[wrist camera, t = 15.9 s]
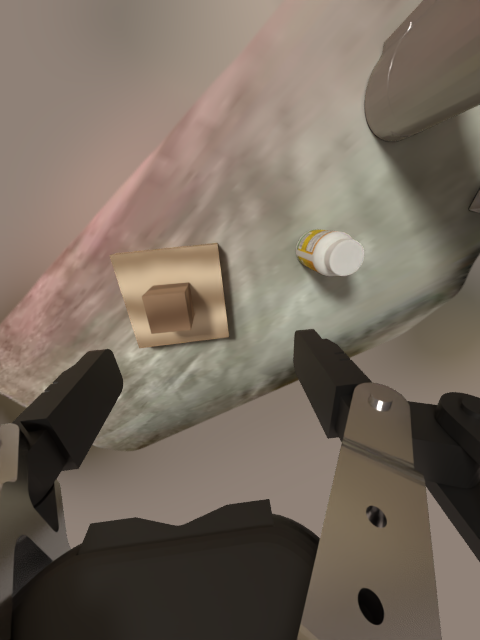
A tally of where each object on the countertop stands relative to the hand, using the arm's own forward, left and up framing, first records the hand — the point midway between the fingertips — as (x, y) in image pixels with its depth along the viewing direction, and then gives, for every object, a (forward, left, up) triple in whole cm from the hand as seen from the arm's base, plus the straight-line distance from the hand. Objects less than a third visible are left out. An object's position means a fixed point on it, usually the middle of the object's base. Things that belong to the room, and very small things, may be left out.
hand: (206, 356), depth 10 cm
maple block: (+4, -6, -25) cm, 26 cm away
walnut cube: (+4, -6, -22) cm, 24 cm away
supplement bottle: (-1, +15, -25) cm, 29 cm away
